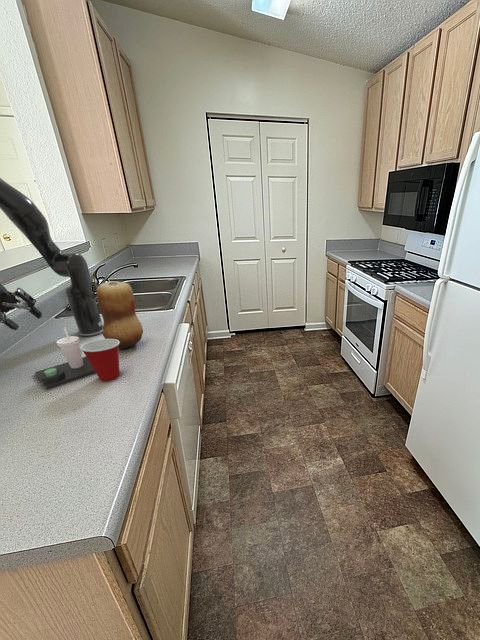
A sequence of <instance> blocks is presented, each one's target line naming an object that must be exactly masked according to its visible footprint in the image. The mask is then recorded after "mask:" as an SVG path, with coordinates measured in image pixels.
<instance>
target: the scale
mask: <svg viewBox="0 0 480 640" xmlns="http://www.w3.org/2000/svg"><path fill="white" fill-rule="evenodd" d="M82 359H83V366H82V367H79V368H71V367H70V365H69V363H68V361H66V362H63V363H60V364H57V365H54V366H50V367H47V368H44V369H40V370H37V371H34V374H35V376H36V377H37V378H38V380H39V381H40V383H41V384H42V385H43V386H44V388H45V389H46V390H48V391H49V390H51V389H54V388H57V387H60V386H62V385H65V384H68V383H71V382H74V381H77V380H80V379H84V378H86V377H90V376H92V375H95V374H96V372H95V371H94V369H93V367H92V365H91V364H90V362H89V360H88V358H87V357H86V356H82ZM51 368H56V369H57V372H58V374H56V375H54V376H50V377H46V375H45V373H44V372H45V371H46V370H48V369H51Z"/></svg>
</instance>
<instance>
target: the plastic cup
mask: <svg viewBox="0 0 480 640" xmlns="http://www.w3.org/2000/svg"><path fill="white" fill-rule="evenodd" d="M119 343H120V342H119V340H116V339H105V338H100V339H94V340H90V341H87V342H85V343H82V344H81V345H80V349H81V352H82V353H83V354H84V355H85V357H87V358H88V360H89V362H90V364H91V365H92V367H93V369H94V371H95V372H96V373H95V374H96V376H97V377H98V379H99V380H100V381H101V382H111V381H114V380H116V379H118V378H119V377H120V373H121V372H120V359H119V358H120V357H119V349H118V348H119V347H118V346H119Z"/></svg>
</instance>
